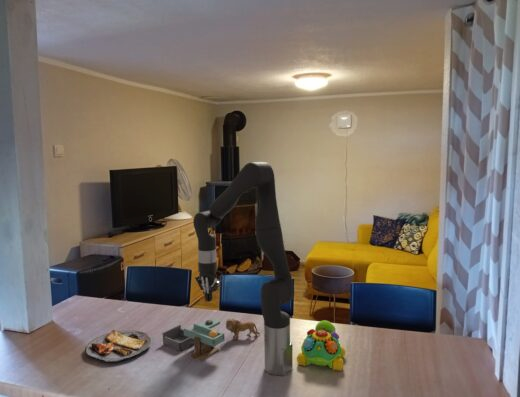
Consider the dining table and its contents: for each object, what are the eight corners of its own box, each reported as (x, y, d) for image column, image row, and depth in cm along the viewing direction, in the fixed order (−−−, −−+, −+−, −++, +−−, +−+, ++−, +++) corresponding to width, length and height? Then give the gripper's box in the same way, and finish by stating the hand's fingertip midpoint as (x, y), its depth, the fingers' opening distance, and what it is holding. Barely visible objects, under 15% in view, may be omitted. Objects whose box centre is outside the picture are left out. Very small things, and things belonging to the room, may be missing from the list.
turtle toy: (347, 345, 165) (347, 317, 163) (342, 377, 143) (343, 345, 141) (305, 341, 169) (305, 313, 168) (294, 371, 147) (294, 340, 146)
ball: (219, 338, 156) (219, 330, 156) (213, 341, 154) (213, 333, 153) (213, 336, 158) (212, 328, 158) (207, 339, 156) (207, 331, 155)
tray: (197, 342, 169) (196, 331, 168) (180, 351, 162) (179, 339, 161) (180, 335, 175) (179, 324, 174) (163, 344, 168) (162, 332, 167)
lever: (241, 330, 164) (241, 324, 164) (213, 346, 152) (213, 339, 151) (211, 320, 174) (211, 314, 174) (183, 334, 162) (182, 328, 161)
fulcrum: (219, 350, 162) (218, 331, 161) (200, 361, 154) (200, 341, 153) (208, 346, 166) (207, 327, 165) (189, 356, 158) (188, 336, 157)
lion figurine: (227, 343, 168) (227, 322, 167) (224, 337, 173) (224, 317, 172) (261, 337, 173) (261, 317, 171) (258, 332, 178) (257, 312, 176)
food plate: (73, 354, 161) (72, 345, 160) (118, 330, 181) (118, 323, 181) (119, 371, 149) (119, 362, 149) (163, 344, 170) (162, 336, 169)
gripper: (225, 260, 165) (226, 301, 167) (202, 255, 173) (203, 294, 175) (212, 265, 159) (213, 307, 161) (189, 259, 167) (190, 300, 169)
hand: (208, 300), depth 168 cm, fingers closed
